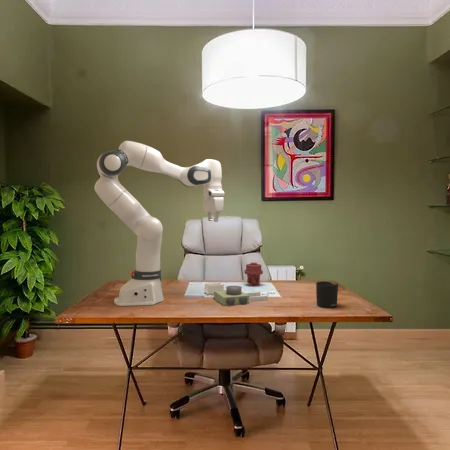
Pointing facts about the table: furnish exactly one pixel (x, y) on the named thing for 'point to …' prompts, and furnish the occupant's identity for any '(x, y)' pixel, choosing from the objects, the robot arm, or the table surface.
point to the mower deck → (237, 296)
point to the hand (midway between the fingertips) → (212, 221)
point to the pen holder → (326, 294)
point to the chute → (213, 288)
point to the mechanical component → (253, 273)
